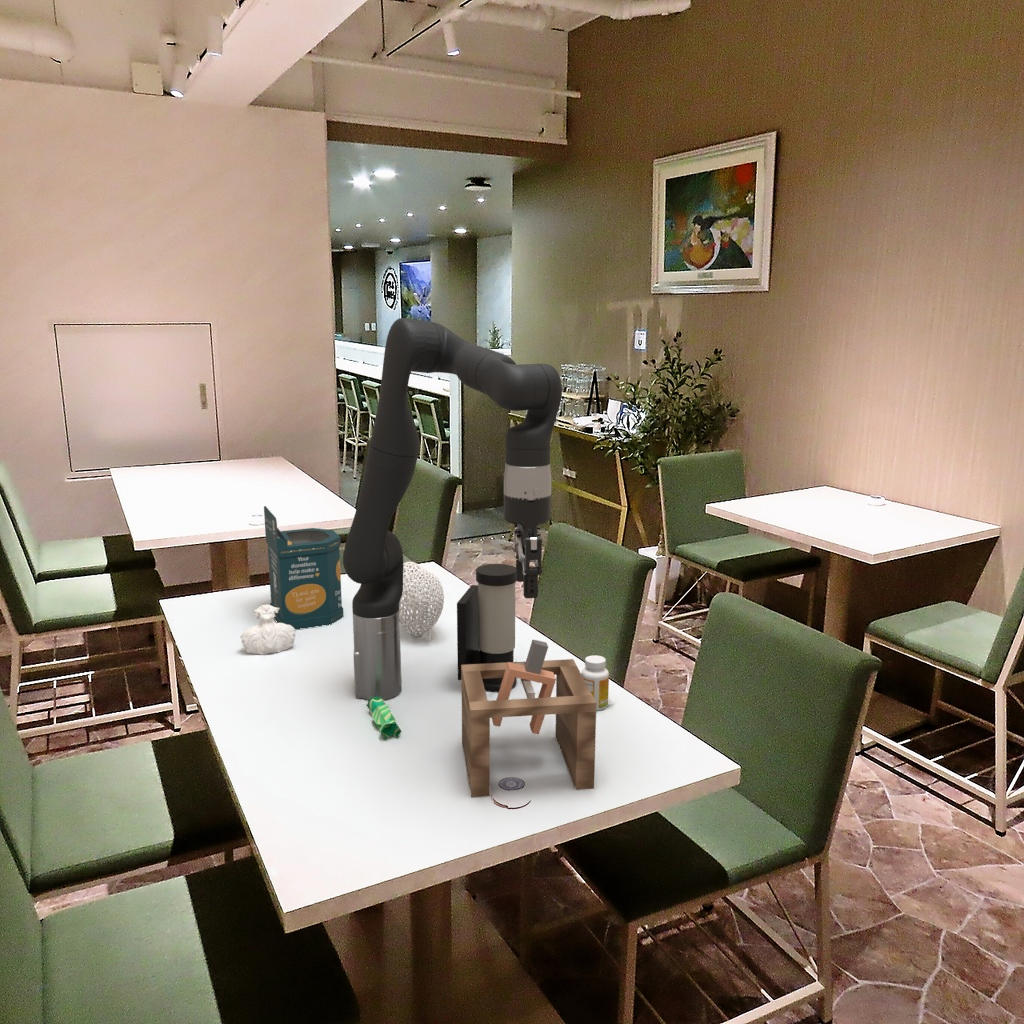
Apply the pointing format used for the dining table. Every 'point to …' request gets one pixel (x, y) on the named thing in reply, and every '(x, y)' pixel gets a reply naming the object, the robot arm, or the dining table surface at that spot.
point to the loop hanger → (529, 673)
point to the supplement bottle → (597, 679)
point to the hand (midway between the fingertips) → (526, 589)
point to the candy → (383, 717)
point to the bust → (268, 633)
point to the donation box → (304, 574)
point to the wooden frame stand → (568, 705)
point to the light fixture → (488, 621)
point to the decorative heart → (420, 600)
